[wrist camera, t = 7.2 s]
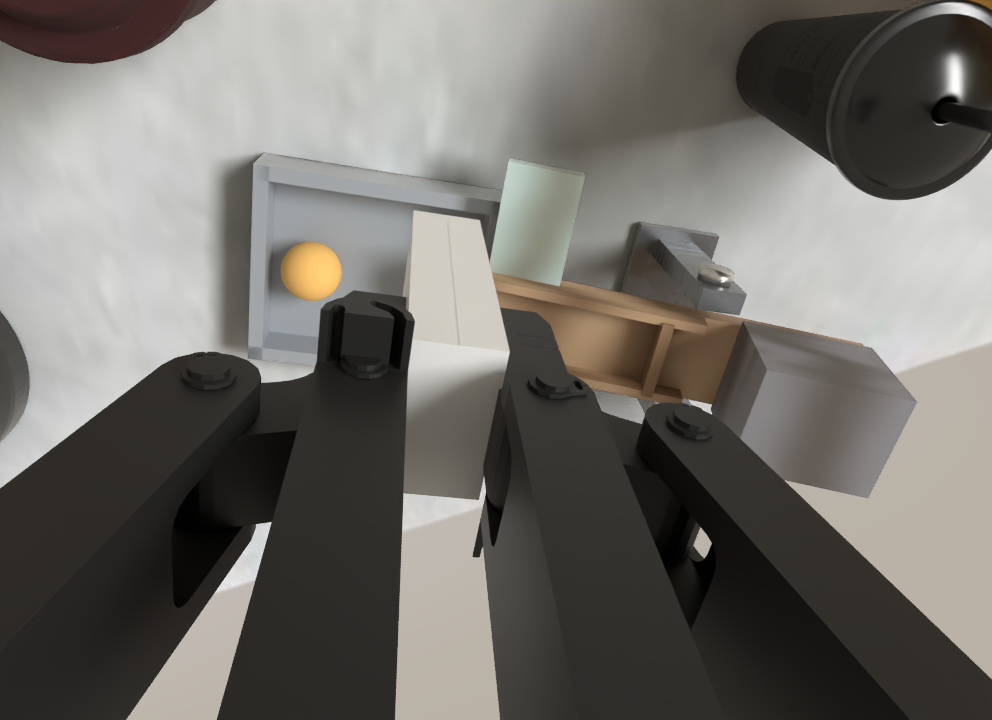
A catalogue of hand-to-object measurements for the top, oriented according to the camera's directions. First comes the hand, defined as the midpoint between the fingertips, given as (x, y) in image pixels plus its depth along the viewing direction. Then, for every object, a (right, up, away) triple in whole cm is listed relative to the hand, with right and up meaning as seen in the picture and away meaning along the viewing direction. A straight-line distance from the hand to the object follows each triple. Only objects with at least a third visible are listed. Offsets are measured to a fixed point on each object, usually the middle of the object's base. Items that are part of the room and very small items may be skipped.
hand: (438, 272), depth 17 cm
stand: (+12, +2, +30) cm, 32 cm away
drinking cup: (+17, +15, +24) cm, 33 cm away
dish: (-6, +4, +27) cm, 28 cm away
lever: (+10, +2, +23) cm, 25 cm away
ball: (-9, +3, +25) cm, 27 cm away
